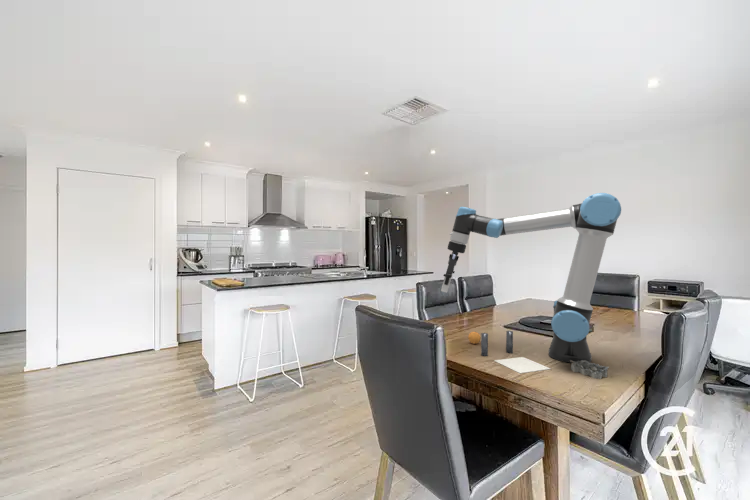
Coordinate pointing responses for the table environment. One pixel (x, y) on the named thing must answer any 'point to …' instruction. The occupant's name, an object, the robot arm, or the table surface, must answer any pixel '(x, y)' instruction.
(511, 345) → the post right
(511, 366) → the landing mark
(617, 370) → the table surface
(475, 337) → the ball
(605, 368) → the egg carton
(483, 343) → the post left
